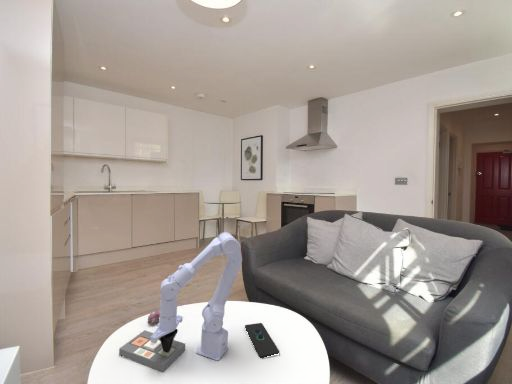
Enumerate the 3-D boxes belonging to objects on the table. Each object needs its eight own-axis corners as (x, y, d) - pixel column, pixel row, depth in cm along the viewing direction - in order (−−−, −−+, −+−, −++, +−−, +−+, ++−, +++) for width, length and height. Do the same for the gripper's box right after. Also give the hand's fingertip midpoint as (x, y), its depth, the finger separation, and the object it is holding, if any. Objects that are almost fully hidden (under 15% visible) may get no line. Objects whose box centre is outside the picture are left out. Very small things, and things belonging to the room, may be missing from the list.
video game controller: (147, 328, 112) (149, 317, 109) (147, 318, 115) (148, 308, 112) (171, 323, 116) (173, 313, 113) (170, 314, 120) (172, 304, 117)
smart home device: (262, 322, 117) (280, 351, 98) (261, 326, 117) (280, 356, 98) (244, 324, 114) (259, 355, 95) (243, 328, 114) (259, 360, 95)
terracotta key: (149, 343, 98) (149, 339, 98) (140, 350, 94) (140, 346, 94) (139, 340, 100) (139, 336, 100) (130, 347, 95) (130, 343, 95)
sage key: (175, 352, 94) (175, 348, 94) (167, 360, 90) (167, 356, 90) (165, 349, 96) (165, 345, 95) (157, 356, 91) (157, 352, 91)
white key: (162, 345, 96) (162, 341, 96) (153, 352, 92) (153, 348, 92) (152, 342, 98) (152, 338, 97) (143, 349, 93) (143, 345, 93)
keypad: (184, 350, 97) (185, 343, 97) (163, 372, 86) (163, 364, 86) (144, 336, 104) (144, 329, 104) (119, 355, 92) (119, 347, 92)
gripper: (172, 302, 100) (170, 336, 101) (143, 321, 86) (142, 360, 87) (187, 306, 97) (186, 341, 98) (161, 326, 84) (159, 367, 85)
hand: (166, 350), depth 93 cm, fingers closed, pressing on sage key
